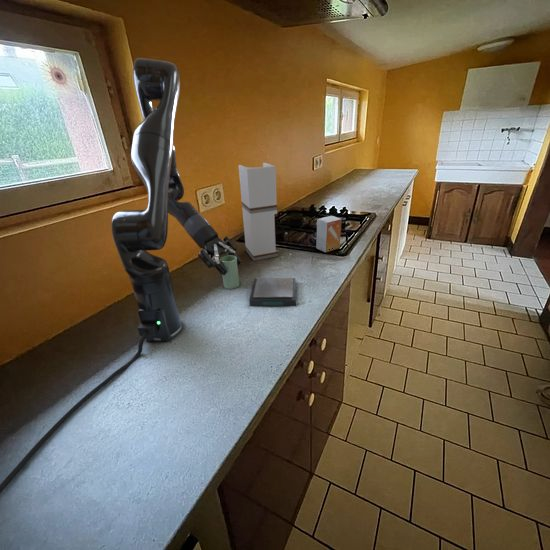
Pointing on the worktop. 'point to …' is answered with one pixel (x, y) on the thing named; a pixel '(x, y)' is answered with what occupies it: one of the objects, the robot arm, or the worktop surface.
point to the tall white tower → (259, 210)
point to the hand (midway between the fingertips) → (233, 268)
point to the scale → (273, 292)
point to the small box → (328, 233)
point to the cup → (230, 271)
